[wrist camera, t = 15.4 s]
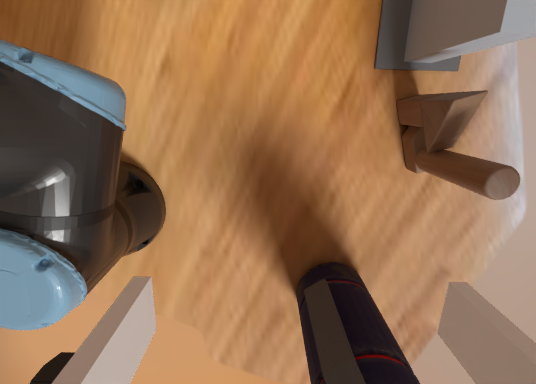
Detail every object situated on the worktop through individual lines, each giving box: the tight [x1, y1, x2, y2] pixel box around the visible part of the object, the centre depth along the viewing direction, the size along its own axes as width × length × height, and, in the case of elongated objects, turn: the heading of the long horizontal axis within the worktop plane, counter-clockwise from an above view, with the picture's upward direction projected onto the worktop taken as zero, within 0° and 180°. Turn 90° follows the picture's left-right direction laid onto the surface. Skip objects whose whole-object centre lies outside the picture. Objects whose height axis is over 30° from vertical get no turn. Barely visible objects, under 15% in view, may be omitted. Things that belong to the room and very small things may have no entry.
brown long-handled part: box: [397, 91, 520, 200], centre depth 37 cm, size 4×11×18 cm, turn 16°
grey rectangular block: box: [404, 0, 536, 63], centre depth 32 cm, size 10×4×18 cm, turn 178°
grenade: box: [297, 263, 420, 384], centre depth 38 cm, size 14×12×30 cm
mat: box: [374, 0, 461, 71], centre depth 41 cm, size 12×12×1 cm
